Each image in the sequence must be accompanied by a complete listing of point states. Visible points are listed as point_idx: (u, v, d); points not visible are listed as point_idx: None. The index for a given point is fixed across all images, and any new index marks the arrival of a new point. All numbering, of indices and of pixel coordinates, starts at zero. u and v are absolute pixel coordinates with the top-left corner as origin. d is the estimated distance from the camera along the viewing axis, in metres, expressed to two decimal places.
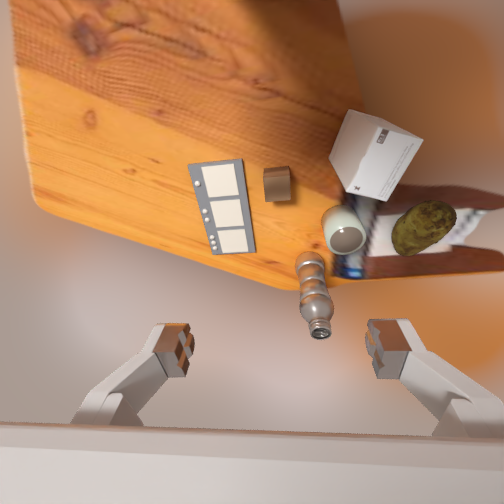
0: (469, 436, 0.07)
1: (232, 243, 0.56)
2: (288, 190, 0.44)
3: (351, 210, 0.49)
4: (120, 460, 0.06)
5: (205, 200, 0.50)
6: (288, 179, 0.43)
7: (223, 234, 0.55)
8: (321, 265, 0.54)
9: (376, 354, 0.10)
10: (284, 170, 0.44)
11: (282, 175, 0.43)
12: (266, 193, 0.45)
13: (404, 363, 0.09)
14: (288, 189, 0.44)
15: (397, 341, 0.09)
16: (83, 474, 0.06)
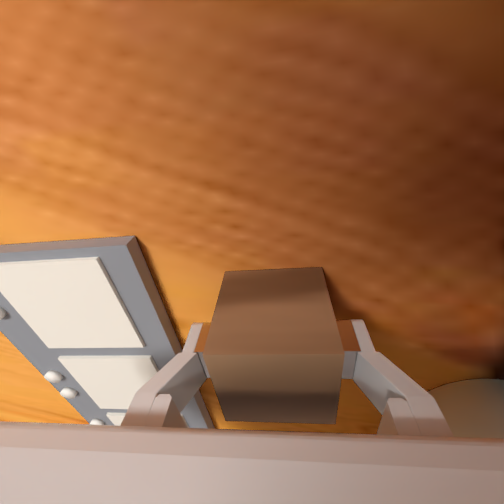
0: (398, 434, 0.07)
1: None
2: (329, 399, 0.09)
3: None
4: (120, 460, 0.06)
5: (44, 352, 0.15)
6: (334, 366, 0.08)
7: None
8: None
9: None
10: (308, 296, 0.10)
11: (299, 342, 0.08)
12: (226, 400, 0.10)
13: (355, 363, 0.10)
14: (329, 396, 0.09)
15: (348, 342, 0.10)
16: (83, 474, 0.06)
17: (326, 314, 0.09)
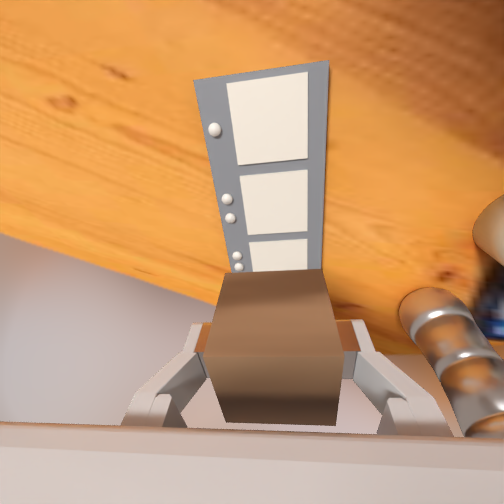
0: (398, 434, 0.07)
1: (277, 268, 0.28)
2: (329, 401, 0.09)
3: None
4: (120, 460, 0.06)
5: (229, 173, 0.23)
6: (334, 368, 0.08)
7: (261, 250, 0.27)
8: (472, 319, 0.25)
9: None
10: (308, 299, 0.10)
11: (300, 344, 0.08)
12: (226, 402, 0.10)
13: (355, 364, 0.10)
14: (329, 398, 0.09)
15: (348, 342, 0.10)
16: (83, 474, 0.06)
17: (326, 316, 0.09)
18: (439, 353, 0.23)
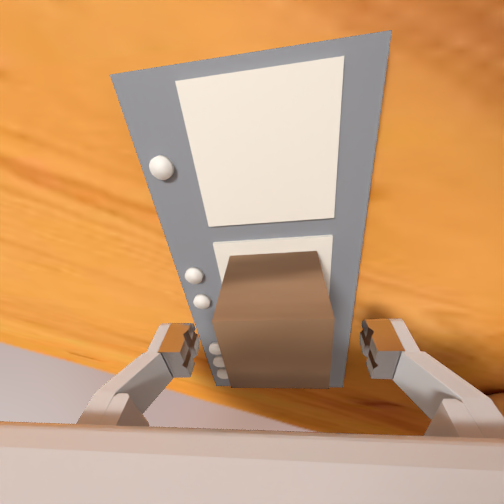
0: (459, 436, 0.07)
1: None
2: (322, 363, 0.10)
3: None
4: (120, 460, 0.06)
5: (195, 237, 0.13)
6: (326, 331, 0.09)
7: None
8: None
9: (370, 354, 0.10)
10: (304, 275, 0.11)
11: (296, 310, 0.09)
12: (231, 367, 0.11)
13: (398, 364, 0.09)
14: (323, 361, 0.10)
15: (390, 341, 0.09)
16: (83, 474, 0.06)
17: (320, 288, 0.10)
18: None
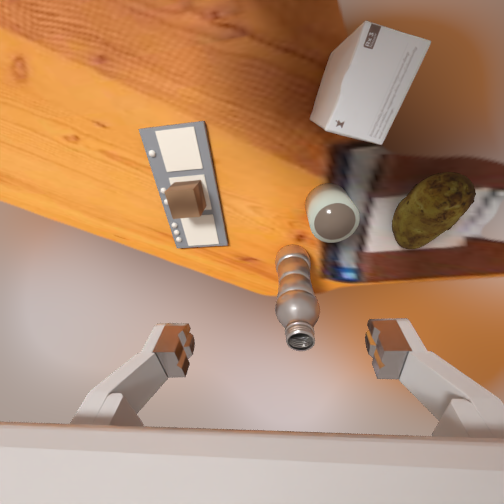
0: (469, 436, 0.07)
1: (199, 233, 0.46)
2: (195, 206, 0.39)
3: (341, 189, 0.40)
4: (120, 460, 0.06)
5: (163, 176, 0.41)
6: (192, 193, 0.38)
7: (187, 221, 0.45)
8: (306, 260, 0.44)
9: (376, 354, 0.10)
10: (192, 184, 0.39)
11: (185, 188, 0.38)
12: (171, 209, 0.39)
13: (404, 363, 0.09)
14: (195, 204, 0.39)
15: (397, 341, 0.09)
16: (83, 474, 0.06)
17: (194, 185, 0.39)
18: (280, 276, 0.42)
